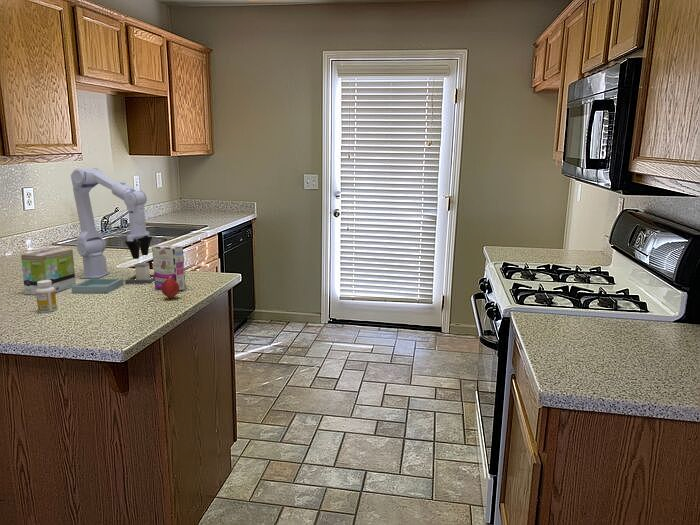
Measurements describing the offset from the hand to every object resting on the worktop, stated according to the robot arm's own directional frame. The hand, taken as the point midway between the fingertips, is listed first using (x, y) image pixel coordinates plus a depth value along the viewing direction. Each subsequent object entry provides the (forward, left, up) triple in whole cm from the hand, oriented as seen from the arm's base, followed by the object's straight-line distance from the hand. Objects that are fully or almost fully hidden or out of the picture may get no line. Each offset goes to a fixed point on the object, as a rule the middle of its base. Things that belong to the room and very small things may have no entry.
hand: (140, 256), depth 214 cm
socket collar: (-1, 0, -10) cm, 10 cm away
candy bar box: (+13, +16, -10) cm, 23 cm away
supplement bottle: (+41, -14, -10) cm, 45 cm away
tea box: (+14, -29, -10) cm, 33 cm away
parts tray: (+12, -12, -10) cm, 20 cm away
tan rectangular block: (-1, 0, -10) cm, 10 cm away
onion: (+26, +21, -10) cm, 35 cm away
